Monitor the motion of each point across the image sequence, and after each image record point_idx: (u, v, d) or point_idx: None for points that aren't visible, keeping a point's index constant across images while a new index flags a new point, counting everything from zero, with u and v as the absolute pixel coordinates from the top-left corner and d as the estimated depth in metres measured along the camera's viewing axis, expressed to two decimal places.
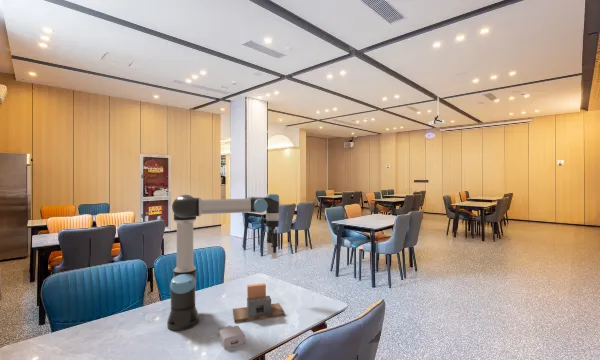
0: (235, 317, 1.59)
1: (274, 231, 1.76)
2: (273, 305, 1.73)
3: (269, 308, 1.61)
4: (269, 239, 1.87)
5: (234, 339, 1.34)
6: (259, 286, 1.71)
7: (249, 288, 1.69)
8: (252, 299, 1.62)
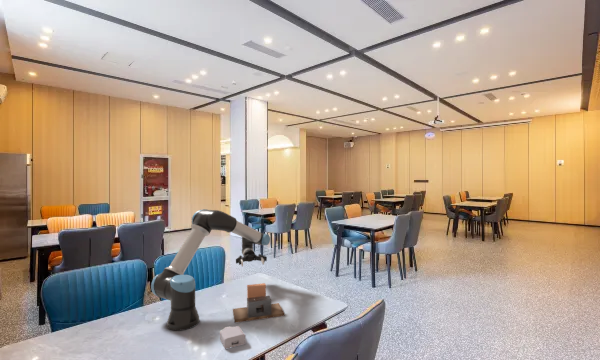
0: (235, 317, 1.59)
1: None
2: (273, 305, 1.73)
3: (269, 308, 1.61)
4: (243, 259, 1.93)
5: (234, 339, 1.33)
6: (259, 286, 1.71)
7: (249, 288, 1.69)
8: (252, 299, 1.62)
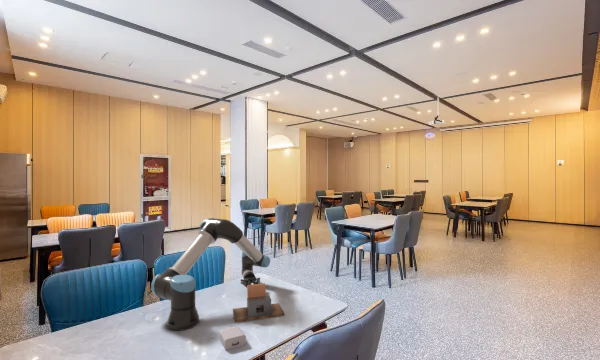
0: (235, 317, 1.59)
1: (259, 279, 2.00)
2: (273, 305, 1.73)
3: (269, 308, 1.61)
4: None
5: (235, 340, 1.33)
6: (259, 286, 1.71)
7: (249, 288, 1.69)
8: (252, 299, 1.62)
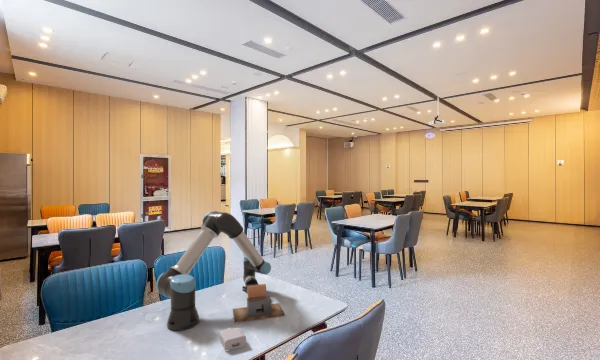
0: (235, 317, 1.59)
1: None
2: (273, 305, 1.73)
3: (269, 308, 1.61)
4: None
5: (235, 341, 1.32)
6: (259, 287, 1.69)
7: (249, 289, 1.68)
8: (252, 299, 1.62)
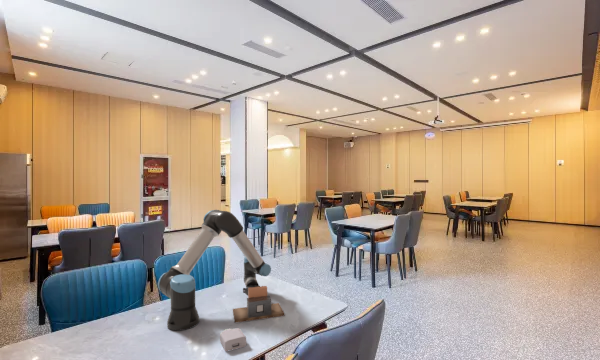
0: (235, 317, 1.59)
1: None
2: (273, 305, 1.73)
3: (269, 308, 1.61)
4: None
5: (235, 342, 1.32)
6: (260, 289, 1.66)
7: (250, 291, 1.64)
8: (252, 299, 1.62)
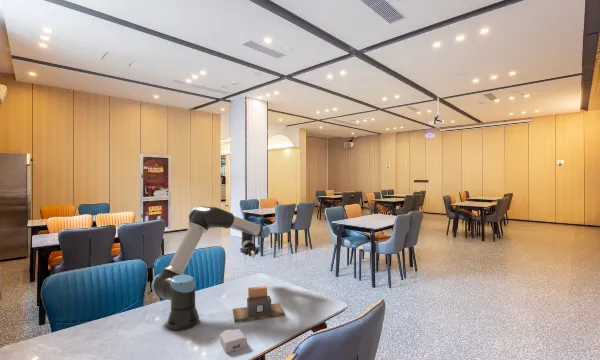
0: (235, 317, 1.59)
1: (259, 249, 1.98)
2: (273, 305, 1.73)
3: (269, 308, 1.61)
4: None
5: (235, 343, 1.31)
6: (260, 289, 1.66)
7: (250, 291, 1.65)
8: (252, 299, 1.62)
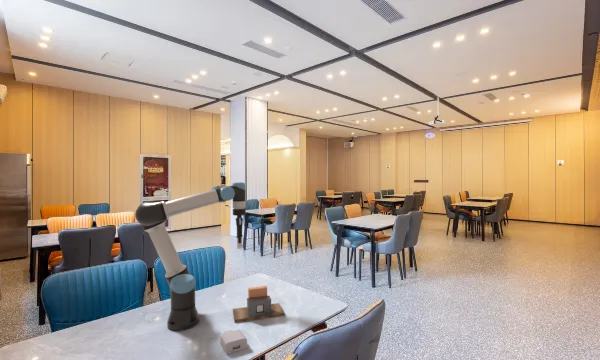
0: (235, 317, 1.59)
1: (240, 223, 1.76)
2: (273, 305, 1.73)
3: (269, 308, 1.61)
4: None
5: (236, 344, 1.30)
6: (260, 289, 1.66)
7: (250, 291, 1.65)
8: (252, 299, 1.62)
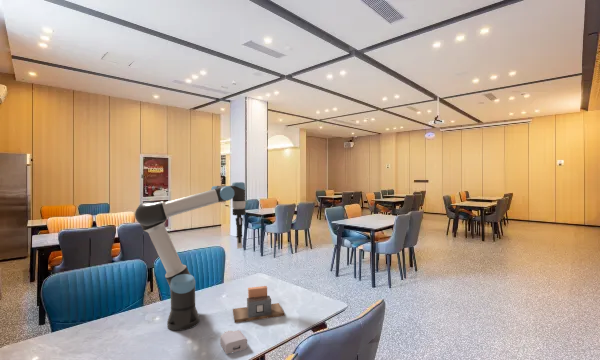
0: (235, 317, 1.59)
1: (239, 223, 1.76)
2: (273, 305, 1.73)
3: (269, 308, 1.61)
4: None
5: (236, 344, 1.30)
6: (260, 289, 1.66)
7: (250, 291, 1.65)
8: (252, 299, 1.62)
